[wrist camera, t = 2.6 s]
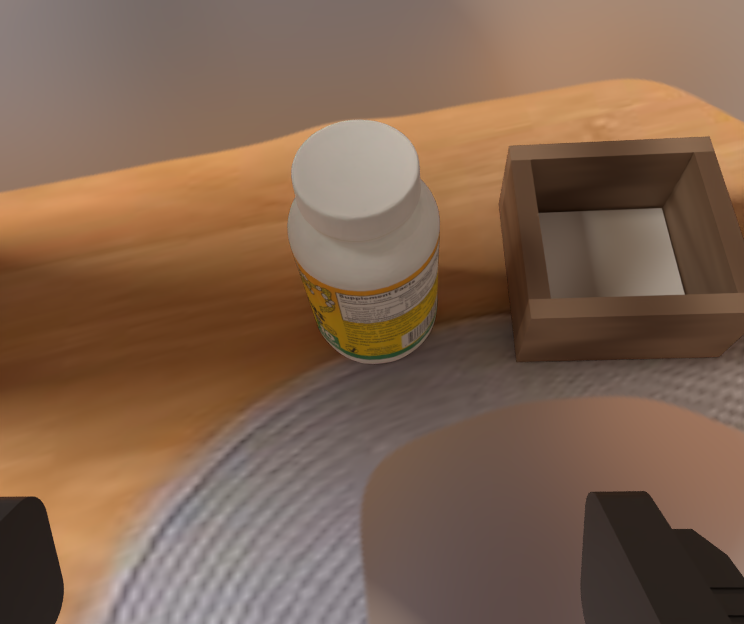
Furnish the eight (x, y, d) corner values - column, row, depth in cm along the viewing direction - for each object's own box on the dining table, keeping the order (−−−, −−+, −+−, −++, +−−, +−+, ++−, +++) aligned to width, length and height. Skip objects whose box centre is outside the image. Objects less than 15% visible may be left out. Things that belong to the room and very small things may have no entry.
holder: (516, 361, 26) (531, 318, 22) (498, 204, 29) (509, 145, 26) (719, 357, 25) (767, 312, 22) (674, 197, 29) (709, 136, 25)
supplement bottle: (443, 361, 26) (454, 229, 17) (318, 373, 26) (268, 249, 18) (428, 254, 28) (431, 94, 20) (314, 266, 29) (268, 112, 20)
